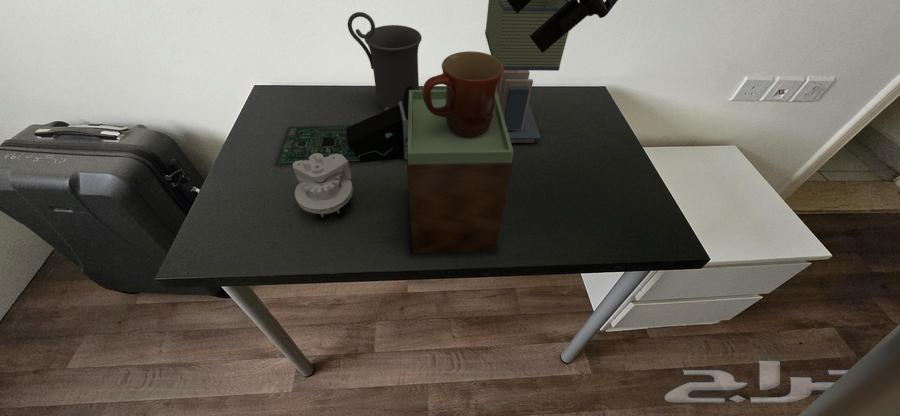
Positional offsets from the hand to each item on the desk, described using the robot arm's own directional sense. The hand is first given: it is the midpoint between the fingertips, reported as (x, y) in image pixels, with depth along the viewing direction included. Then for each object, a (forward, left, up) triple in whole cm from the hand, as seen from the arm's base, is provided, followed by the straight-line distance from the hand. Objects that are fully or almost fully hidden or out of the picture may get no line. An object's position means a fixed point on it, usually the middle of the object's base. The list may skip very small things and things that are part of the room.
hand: (522, 24), depth 52 cm
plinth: (0, +10, -37) cm, 38 cm away
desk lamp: (+21, -20, -37) cm, 47 cm away
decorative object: (+26, +12, -37) cm, 47 cm away
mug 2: (0, +10, -14) cm, 18 cm away
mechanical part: (+16, +30, -37) cm, 50 cm away
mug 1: (+43, +2, -37) cm, 57 cm away
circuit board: (+36, +24, -37) cm, 57 cm away
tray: (0, +10, -15) cm, 18 cm away
